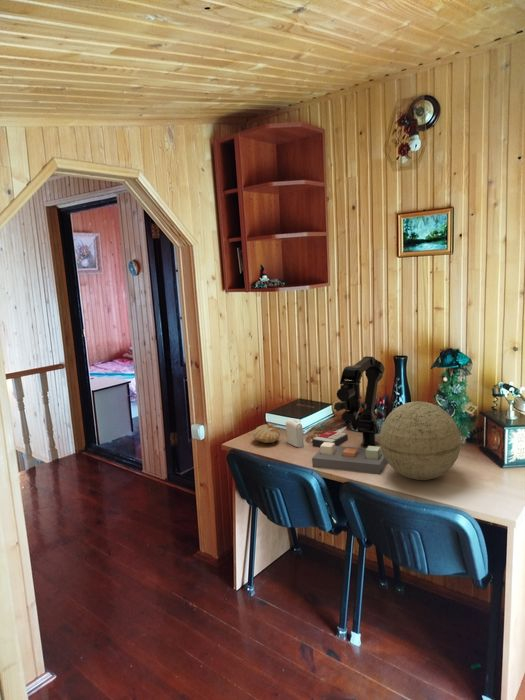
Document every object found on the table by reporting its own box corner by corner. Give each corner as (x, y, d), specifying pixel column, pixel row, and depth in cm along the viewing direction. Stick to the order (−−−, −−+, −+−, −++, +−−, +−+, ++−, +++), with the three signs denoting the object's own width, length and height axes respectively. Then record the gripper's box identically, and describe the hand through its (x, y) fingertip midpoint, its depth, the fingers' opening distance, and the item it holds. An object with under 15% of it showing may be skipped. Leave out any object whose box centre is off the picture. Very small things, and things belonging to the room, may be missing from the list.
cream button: (324, 452, 229) (324, 441, 228) (335, 453, 226) (334, 442, 226) (321, 456, 224) (320, 446, 223) (331, 458, 222) (331, 446, 221)
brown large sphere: (454, 499, 182) (452, 417, 177) (371, 487, 197) (368, 411, 192) (466, 466, 208) (465, 394, 203) (392, 458, 223) (389, 390, 218)
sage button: (369, 456, 220) (368, 445, 219) (381, 458, 218) (380, 446, 217) (366, 461, 215) (365, 450, 214) (378, 462, 213) (377, 451, 212)
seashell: (268, 432, 271) (293, 437, 263) (245, 443, 253) (271, 449, 245) (268, 417, 270) (293, 422, 262) (245, 428, 252) (271, 433, 244)
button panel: (325, 453, 235) (324, 444, 234) (388, 459, 222) (388, 450, 221) (312, 466, 221) (311, 457, 220) (380, 474, 208) (379, 464, 207)
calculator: (348, 433, 249) (331, 441, 237) (348, 441, 249) (332, 450, 238) (328, 429, 256) (311, 437, 244) (328, 438, 256) (312, 446, 245)
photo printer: (286, 442, 252) (284, 418, 250) (293, 440, 254) (291, 416, 252) (297, 448, 243) (295, 423, 241) (305, 446, 245) (303, 421, 243)
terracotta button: (346, 458, 225) (346, 447, 224) (358, 459, 222) (357, 448, 221) (343, 463, 220) (342, 452, 219) (354, 464, 218) (354, 453, 217)
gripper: (342, 389, 236) (344, 421, 239) (328, 400, 220) (331, 435, 223) (365, 389, 231) (367, 423, 234) (354, 401, 215) (356, 437, 218)
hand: (355, 429), depth 227 cm, fingers closed
